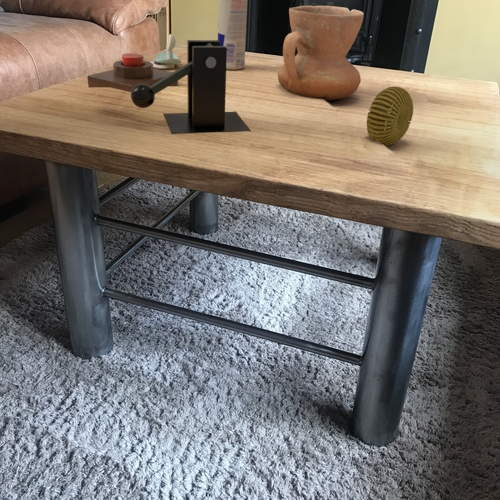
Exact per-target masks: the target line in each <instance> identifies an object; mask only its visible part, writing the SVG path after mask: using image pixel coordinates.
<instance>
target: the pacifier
mask: <svg viewBox="0 0 500 500" xmlns="http://www.w3.org/2000/svg"><path fill="white" fill-rule="evenodd" d="M176 43H177V42H176V37H175V35H173V34H172V33H170V34H169V35H168V38H167V41H166V51H165V50H164V51H161V52H159V53H158V54H157V55H156V56H155V57H154V58H155V59H154V60H151V61H149V62H150V63H152V64H153V68H154V69H159V70H165V69H166V70H167V69H175V68H176V67H175V66H176V65H177V64H178V65H179V64H181V63H182V60H181V59H179V56H178V55H177V54H176V53H174V52H173V50H174V49H175V46H176Z"/></svg>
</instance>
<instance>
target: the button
mask: <svg viewBox="0 0 500 500" xmlns="http://www.w3.org/2000/svg"><path fill="white" fill-rule="evenodd" d="M144 58H145V57H144V55H143V54H141V53H134V52H133V53H132V52H131V53H124V54H122V55H121V60H122V65H124V66H130V67H137V66H144V61H145V59H144Z"/></svg>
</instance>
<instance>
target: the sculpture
mask: <svg viewBox="0 0 500 500" xmlns="http://www.w3.org/2000/svg"><path fill="white" fill-rule="evenodd" d="M413 101H414V100H413V98H412V96H411V94H410V93H409V92H408V91H407V89H405V88H403V87H400V86H389V87H387V88H384V89H383V90H381V91H380V92H379V93H378V94H377V95H376V96H375V97H374V99H373V100H372V102H371V104H370V106H369V109H368V112H367V116H366V130H367V134H368V136H369V138H370V139H371V140H372V141H375V142H378V143H380V144H381V145H382V146H385V147H387V146H392V145H394V144H396V143H398V142H399V141H401V139H402V138H403V137H404V136H405V135H406V134H407V131H408V130H409V128H410V127H411V126H410V125H411V122H412V119H413V116H414V102H413Z"/></svg>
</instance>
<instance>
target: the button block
mask: <svg viewBox="0 0 500 500" xmlns="http://www.w3.org/2000/svg"><path fill="white" fill-rule="evenodd" d="M150 62H151V61H147V60H144V66H137V67H130V66H124V65H122V59H121V60H116V61H114V63H112V67H113V69H110V70H106V71H101V72H98V73H92V74H89V75H87V88H88V89H89V88H92V89H93V88H111V89H115V90H120V91H124V92H127V93H128V92H129V93H131V91H132V89H133V88H134V87H135V86H136V85H138V84H147V85H149V86H151V85H153V84H155V83H156V82H158V81H160V80H161V79H163V78H165V77H166V76H168V75H170V74H171V73H173V72H174V71H169V70H165V69H158V68H154V67H153V64H152V63H150ZM177 86H179V80H178V81H176V82H175V83H173V84H171V85H170V86H169V87H177Z"/></svg>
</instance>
